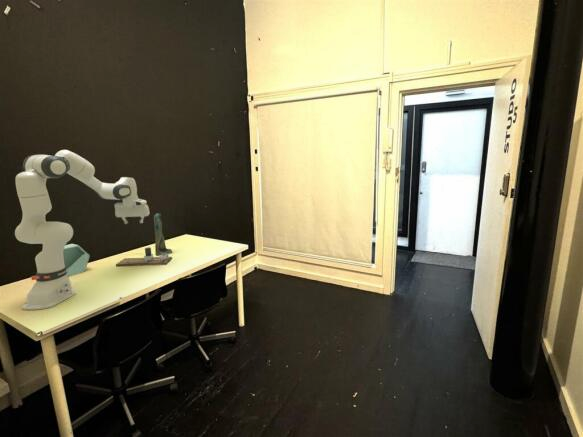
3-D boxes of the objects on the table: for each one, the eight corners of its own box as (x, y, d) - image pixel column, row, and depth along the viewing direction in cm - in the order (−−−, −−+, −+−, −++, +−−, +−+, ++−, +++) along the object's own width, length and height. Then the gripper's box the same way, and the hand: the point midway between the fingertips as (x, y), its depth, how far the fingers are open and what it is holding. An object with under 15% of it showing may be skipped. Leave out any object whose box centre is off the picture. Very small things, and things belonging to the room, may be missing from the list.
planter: (73, 282, 185) (46, 260, 172) (67, 279, 189) (40, 258, 176) (95, 260, 195) (71, 239, 182) (89, 258, 199) (65, 237, 186)
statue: (172, 253, 224) (168, 213, 218) (156, 256, 218) (152, 215, 212) (170, 250, 229) (166, 212, 223) (154, 253, 223) (150, 213, 217)
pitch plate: (166, 264, 200) (165, 255, 198) (115, 266, 198) (114, 257, 197) (171, 258, 211) (171, 250, 210) (124, 260, 209) (123, 252, 208)
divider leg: (149, 261, 200) (147, 250, 198) (143, 262, 199) (141, 250, 198) (153, 258, 207) (152, 246, 205) (147, 258, 207) (146, 247, 205)
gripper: (111, 203, 189) (115, 225, 192) (145, 202, 191) (148, 223, 194) (116, 201, 195) (119, 222, 198) (149, 200, 197) (151, 221, 200)
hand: (134, 223), depth 196 cm, fingers open, 8 cm apart
